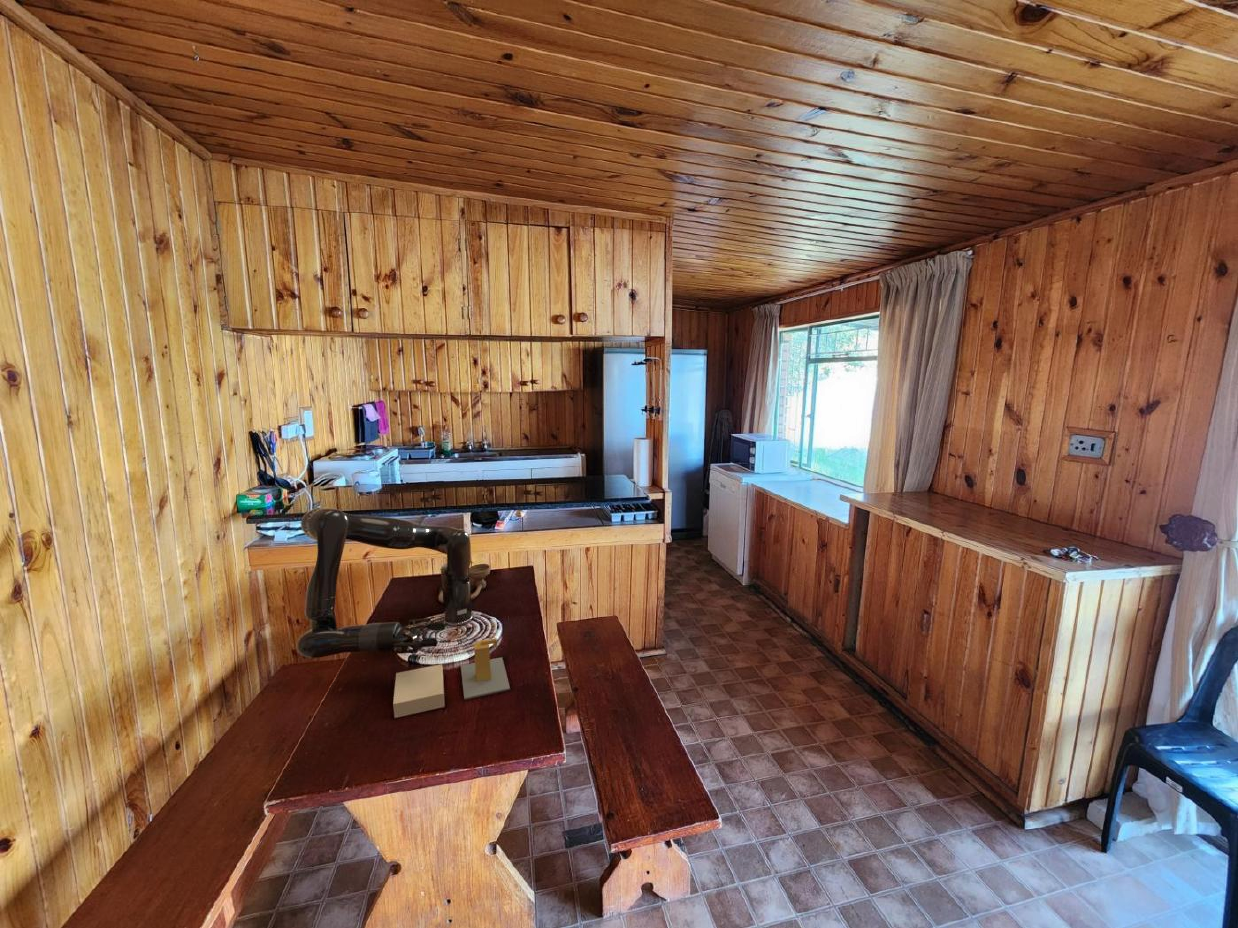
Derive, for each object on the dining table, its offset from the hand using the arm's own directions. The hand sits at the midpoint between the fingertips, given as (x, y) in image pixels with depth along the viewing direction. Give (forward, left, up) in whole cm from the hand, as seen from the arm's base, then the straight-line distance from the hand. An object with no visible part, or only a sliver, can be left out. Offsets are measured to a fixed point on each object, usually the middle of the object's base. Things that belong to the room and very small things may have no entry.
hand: (441, 633), depth 140 cm
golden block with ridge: (+3, +11, -14) cm, 18 cm away
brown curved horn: (-57, +10, -15) cm, 60 cm away
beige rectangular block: (+5, -6, -14) cm, 17 cm away
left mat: (+3, +11, -14) cm, 18 cm away
